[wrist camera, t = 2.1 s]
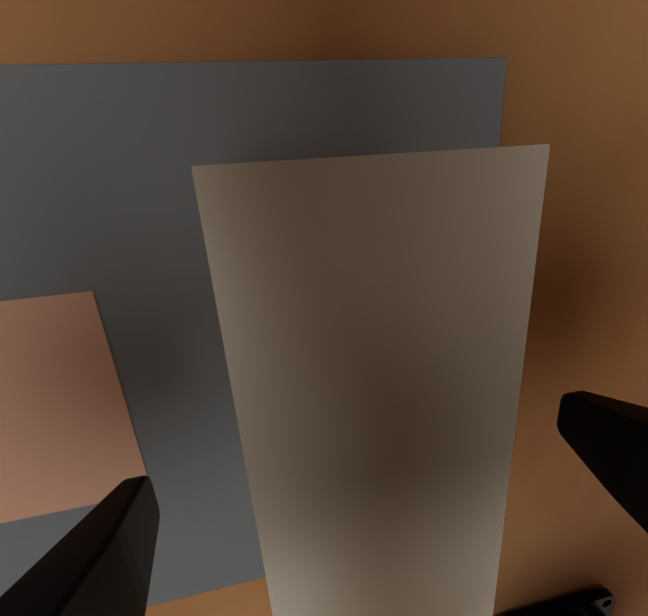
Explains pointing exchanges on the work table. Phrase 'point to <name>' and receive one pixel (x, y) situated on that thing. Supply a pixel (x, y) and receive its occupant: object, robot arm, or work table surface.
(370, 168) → the ash block
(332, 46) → the work table surface
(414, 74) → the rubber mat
